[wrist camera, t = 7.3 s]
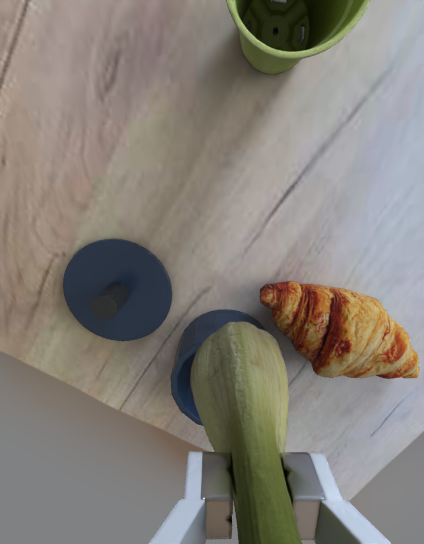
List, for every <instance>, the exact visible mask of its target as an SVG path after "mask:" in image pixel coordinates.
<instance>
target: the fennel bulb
mask: <svg viewBox="0 0 424 544" xmlns="http://www.w3.org/2000/svg"><path fill="white" fill-rule="evenodd" d="M190 376H191V377H190V383H191V389H192V393H193V397H194V402H195V405H196V408H197V411H198V414H199V416H200V419H201V421H202V424H203V426H204V429H205V431H206V434H207V436H208V438H209V441H210V443H211V445H212V447H213V449H214V451H215V452H225V453H230V458H231V477H232V492H233V501H234V506H235V512H236V519H237V528H238V540H239V544H302V542H301V538H300V534H299V530H298V526H297V523H296V520H295V516H294V511H293V507H292V504H291V500H290V496H289V493H288V490H287V486H286V482H285V478H284V473H283V469H282V465H281V460H280V456H279V454H280V453H281V452H285V445H286V433H287V421H288V405H289V394H288V378H287V372H286V366H285V362H284V360H283V357H282V353H281V350H280V348H279V344H278V342H277V340H276V339H275V338H274V337H273V336H272V335H271V334H269V333H268V332H266V331H264V330H261V329H258V328H257V327H256V326H255V325H252V324H251V323H248V322H243V321H242V322H229V323H227V324H225V325H224V326H222V327H221V328H220V329H219V330H218V331H216V332H214V333H213V334H211V335H210V336H209V337H208V338H206V340H205V341H204V342H203V343H202V344H201V346H200V347H199V349H198V350H197V352H196V354H195V358H194V360H193V364H192V367H191V375H190Z"/></svg>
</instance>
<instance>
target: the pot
mask: <svg viewBox="0 0 424 544" xmlns="http://www.w3.org/2000/svg"><path fill="white" fill-rule="evenodd" d="M242 321H243V322H248V323H251V324H252V325H255V326H256V327H257V328H258V329H261V330H264V331H266V330H265V329H264V328H263V326H262V325H261V324H260V323H259V322H258V321H257V320H255V319H254V318H253V317H251V316H249V315H247V314H245V313H242V312H239V311H235V310H216V311H211V312H208V313H206V314H203V315H201V316H200V317H198V318H196V319H195V320H194V321H193V322H191V323H190V324H189V326H188V327H187V328H186V329H185V330H184V333H183V335H182V337H181V340H180V342H179V345H178V349H177V353H176V357H175V361H174V365H173V369H172V374H171V390H172V396H173V398H174V400H175V402H176V403H177V405H178V407H179V409H180V411H181V412H182V413H184V414H185V415H186V416H187V417H189V418H190V419H191V420H192V421H194V422H195V423H196V424H199V425H202V426H203V424H202V421H201V419H200V416H199V414H198V411H197V408H196V405H195V402H194V397H193V393H192V389H191V383H190V377H191V376H190V375H191V367H192V364H193V360H194V358H195V354H196V352H197V350H198V349H199V347H200V346H201V344H202V343H203V342H204V341H205V340H206V338H208V337H209V336H210V335H211V334H213V333H214V332H216V331H218V330H219V329H220V328H221V327H222V326H224V325H225V324H227V323H229V322H242ZM266 332H267V331H266Z"/></svg>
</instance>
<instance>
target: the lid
mask: <svg viewBox="0 0 424 544" xmlns="http://www.w3.org/2000/svg"><path fill="white" fill-rule="evenodd" d="M63 288H64V295H65V299H66V302H67V305H68V307H69V309H70V311H71V312H72V314H73V315H74V317H75V318H76V319H77V320H78V321H79V322H80V323H81V324H82V325H83V326H84V327H85V328H87V329H88V330H89V331H91V332H93V333H95V334H96V335H99V336H101V337H104V338H107V339H111V340H117V341H129V340H135V339H139V338H142V337H144V336H146V335H148V334H150V333H152V332H153V331H154V330H156V329H157V328H158V327H159V326H160V325H161V324H162V323H163V321H164V320H165V318H166V316H167V314H168V312H169V309H170V306H171V301H172V286H171V282H170V278H169V276H168V273H167V271H166V270H165V268H164V266H163V265H162V263H161V262H160V261H159V260H158V259H157V258H156V256H155V255H153V254H152V253H151V252H150V251H149V250H147V249H145V248H144V247H142V246H140V245H138V244H136V243H133V242H130V241H127V240H122V239H105V240H100V241H97V242H94V243H91V244H89V245H87V246H85V247H84V248H82V249H81V250H80V251H78V252H77V253H76V254H75V255H74V257H73V258H72V259H71V261H70V262H69V264H68V266H67V268H66V271H65V275H64V283H63Z"/></svg>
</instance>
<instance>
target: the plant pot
mask: <svg viewBox="0 0 424 544" xmlns="http://www.w3.org/2000/svg"><path fill="white" fill-rule="evenodd" d="M370 1H371V0H287V2H286V3H285V4H283V3H280V2H274V1H273V2H271V0H226V2H227V5H228V8H229V11H230V14H231V16H232V18H233V20H234V22H235V24H236V26H237V27H238V29H239V36H240V43H241V47H242V51H243V53H244V55H245V57H246V58H247V60H248V61H249V62H250V64H251V65H252V66H253V67H254V68H256V69H257V70H259V71H261V72H264V73H268V74H277V73H281V72H284V71H286V70H288V69H290V68H291V67H293V66H294V65H295V64H297V63H298V62H299V61H300V60H301V59H303V58H306V57H310V56H314V55H317V54H319V53H321V52H324V51H326V50H327V49H329V48H331V47H332V46H334V45H335V44H337V43H338V42H339V41H340V40H342V39H343V38H344V37H345V36H346V35H347V34H348V33H349V32H350V31H351V30H352V29H353V28H354V26H355V25H356V24H357V23H358V21H359V20H360V19H361V17H362V16H363V14H364V12H365V10H366V9H367V7H368V5H369V3H370ZM248 22H251V26H250V32H249V31H248V30H247V29H246V26H247V23H248ZM301 26H303V27H304V38H303V42H302V43H301V44H299V43H298V42H299V38H300V33H301ZM274 28H277V29H278V34H277V35H274V34H273V29H274Z"/></svg>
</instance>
